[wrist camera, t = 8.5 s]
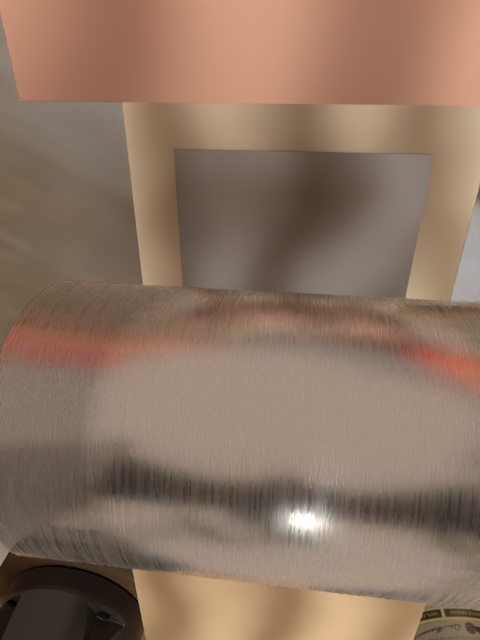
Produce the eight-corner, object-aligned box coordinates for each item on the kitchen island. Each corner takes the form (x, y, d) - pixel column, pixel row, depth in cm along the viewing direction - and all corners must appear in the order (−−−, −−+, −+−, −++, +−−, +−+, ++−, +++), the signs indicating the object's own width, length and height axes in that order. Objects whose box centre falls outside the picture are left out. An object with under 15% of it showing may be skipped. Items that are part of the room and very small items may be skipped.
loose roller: (127, 411, 17) (36, 613, 11) (91, 237, 13) (-73, 410, 7) (460, 438, 16) (548, 680, 10) (529, 255, 12) (737, 479, 6)
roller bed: (174, 516, 40) (129, 678, 30) (117, -14, 21) (-60, -85, 11) (383, 538, 38) (414, 718, 28) (520, -20, 20) (774, -112, 9)
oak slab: (158, 612, 32) (148, 651, 30) (122, 387, 22) (103, 422, 20) (390, 641, 31) (396, 684, 29) (461, 413, 21) (480, 453, 19)
